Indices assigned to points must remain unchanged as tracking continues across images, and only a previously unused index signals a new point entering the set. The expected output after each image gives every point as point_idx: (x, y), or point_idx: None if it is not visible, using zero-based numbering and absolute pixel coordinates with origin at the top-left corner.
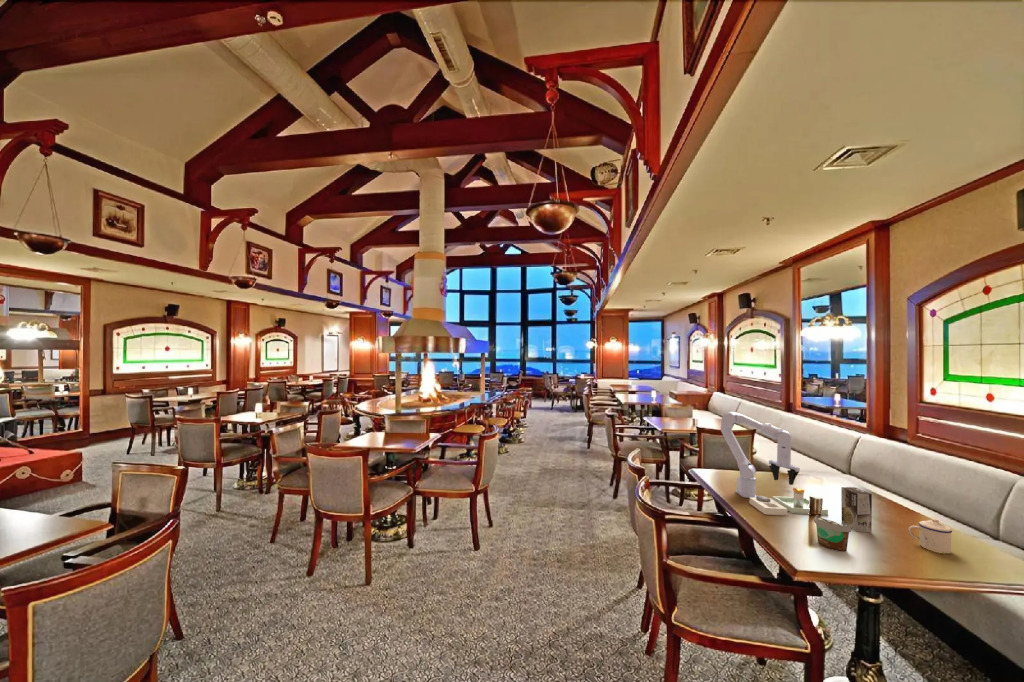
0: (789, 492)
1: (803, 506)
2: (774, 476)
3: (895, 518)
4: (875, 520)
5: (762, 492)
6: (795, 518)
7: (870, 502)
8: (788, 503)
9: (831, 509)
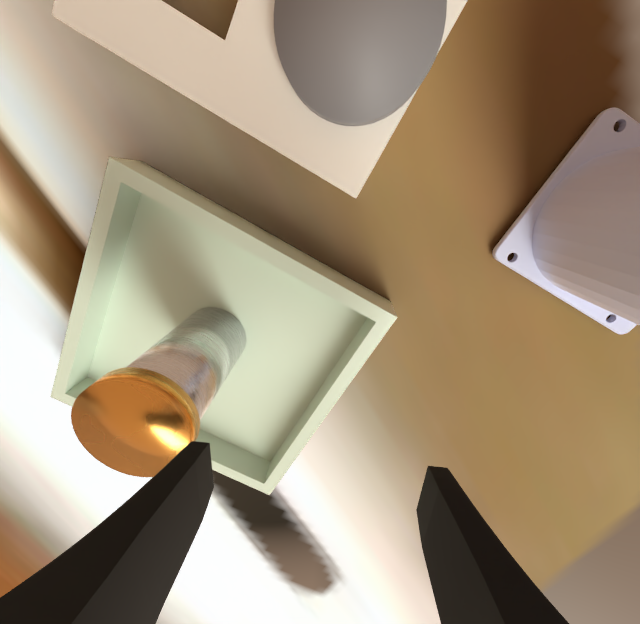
0: None
1: None
2: (459, 515)
3: None
4: (4, 503)
5: (539, 419)
6: (40, 53)
7: None
8: (290, 341)
9: None
